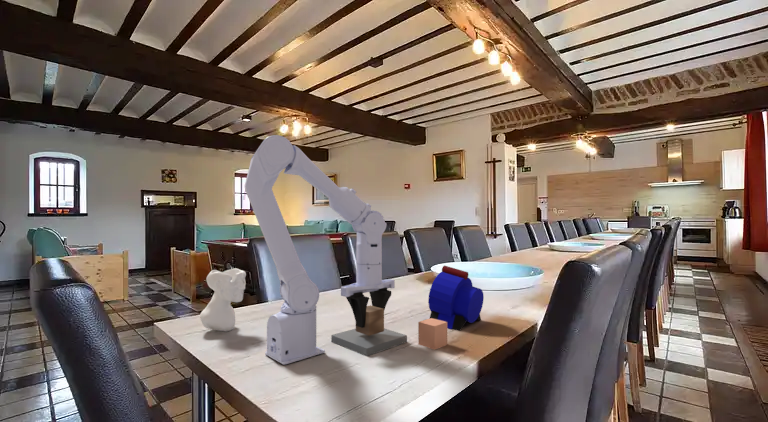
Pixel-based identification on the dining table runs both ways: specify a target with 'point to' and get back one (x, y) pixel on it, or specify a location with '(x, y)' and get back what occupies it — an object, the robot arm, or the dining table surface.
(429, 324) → the terracotta block
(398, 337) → the base plate
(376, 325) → the walnut block
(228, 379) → the dining table surface
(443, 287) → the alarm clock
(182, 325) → the dining table surface
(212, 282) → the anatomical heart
